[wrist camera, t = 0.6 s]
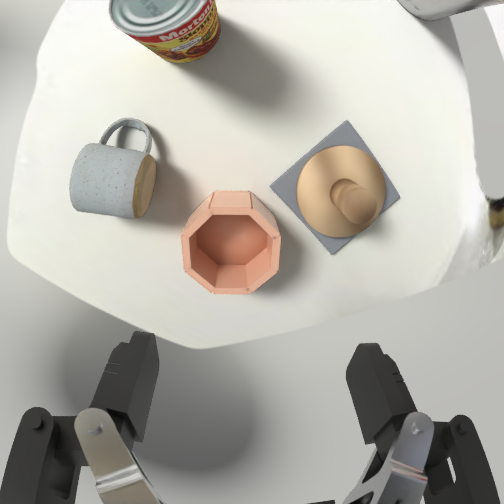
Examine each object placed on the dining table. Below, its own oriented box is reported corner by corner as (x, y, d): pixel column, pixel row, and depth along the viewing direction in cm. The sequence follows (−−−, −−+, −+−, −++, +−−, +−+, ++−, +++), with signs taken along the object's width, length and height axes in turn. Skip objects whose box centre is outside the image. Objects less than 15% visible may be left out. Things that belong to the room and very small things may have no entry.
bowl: (232, 173, 31) (230, 185, 26) (290, 231, 35) (299, 254, 29) (174, 230, 34) (163, 253, 29) (232, 280, 38) (231, 308, 32)
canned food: (206, 69, 26) (187, 42, 15) (141, 57, 24) (93, 33, 14) (230, 11, 22) (226, -38, 12) (165, 1, 21) (132, -44, 10)
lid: (347, 126, 28) (370, 129, 23) (395, 195, 32) (421, 212, 27) (276, 187, 32) (284, 203, 26) (332, 249, 35) (348, 275, 30)
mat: (345, 120, 29) (347, 120, 28) (397, 195, 33) (400, 196, 32) (269, 186, 32) (270, 187, 31) (330, 252, 36) (331, 254, 36)
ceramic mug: (155, 209, 33) (134, 233, 26) (96, 199, 32) (66, 220, 25) (168, 121, 28) (147, 121, 21) (105, 116, 27) (71, 117, 20)
